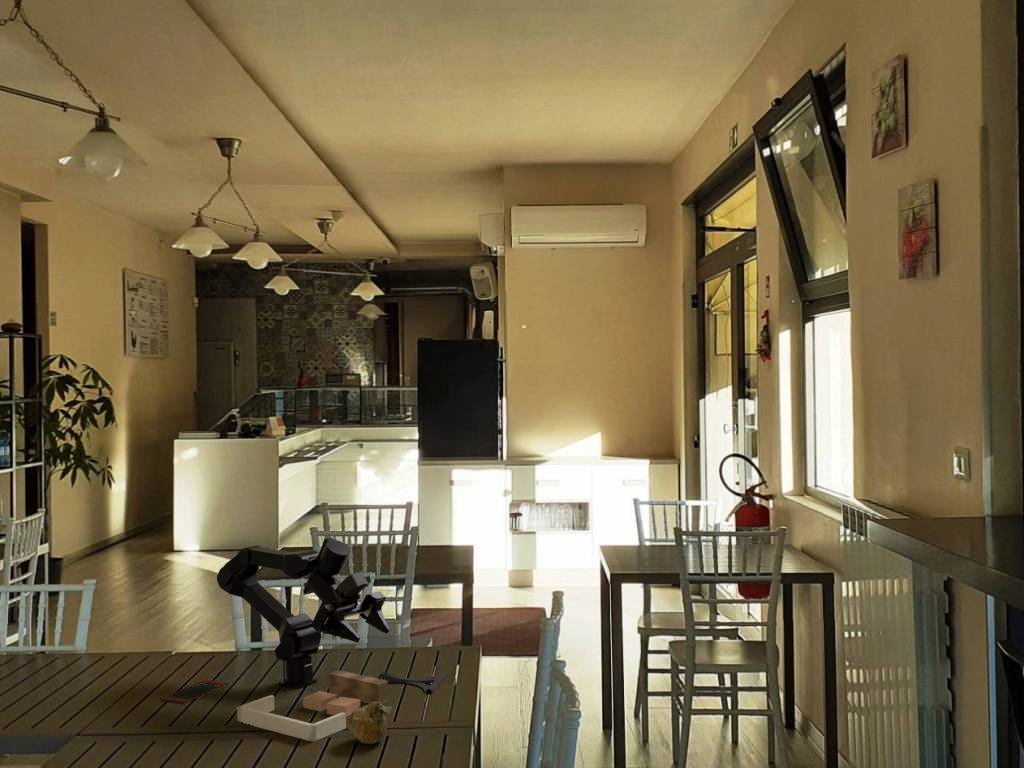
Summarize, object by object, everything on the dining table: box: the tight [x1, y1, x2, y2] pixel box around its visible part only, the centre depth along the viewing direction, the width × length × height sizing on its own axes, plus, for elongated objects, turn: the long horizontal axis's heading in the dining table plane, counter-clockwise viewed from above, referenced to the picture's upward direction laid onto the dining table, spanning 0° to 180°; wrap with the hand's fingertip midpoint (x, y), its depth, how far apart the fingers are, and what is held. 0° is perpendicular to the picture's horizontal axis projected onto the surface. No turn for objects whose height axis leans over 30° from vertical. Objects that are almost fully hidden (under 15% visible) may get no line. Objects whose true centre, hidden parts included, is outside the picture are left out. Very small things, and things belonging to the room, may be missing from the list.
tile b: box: [326, 697, 361, 718], centre depth 212 cm, size 5×5×2 cm
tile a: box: [302, 690, 338, 712], centre depth 216 cm, size 5×5×2 cm
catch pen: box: [236, 694, 347, 743], centre depth 205 cm, size 22×9×3 cm, turn 55°
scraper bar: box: [328, 669, 389, 705], centre depth 221 cm, size 15×3×5 cm, turn 54°
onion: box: [347, 702, 394, 745], centre depth 194 cm, size 8×8×8 cm
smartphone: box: [159, 679, 229, 704], centre depth 228 cm, size 7×1×15 cm
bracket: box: [377, 669, 449, 694], centre depth 232 cm, size 14×15×3 cm
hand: (373, 636), depth 218 cm, fingers open, 9 cm apart
